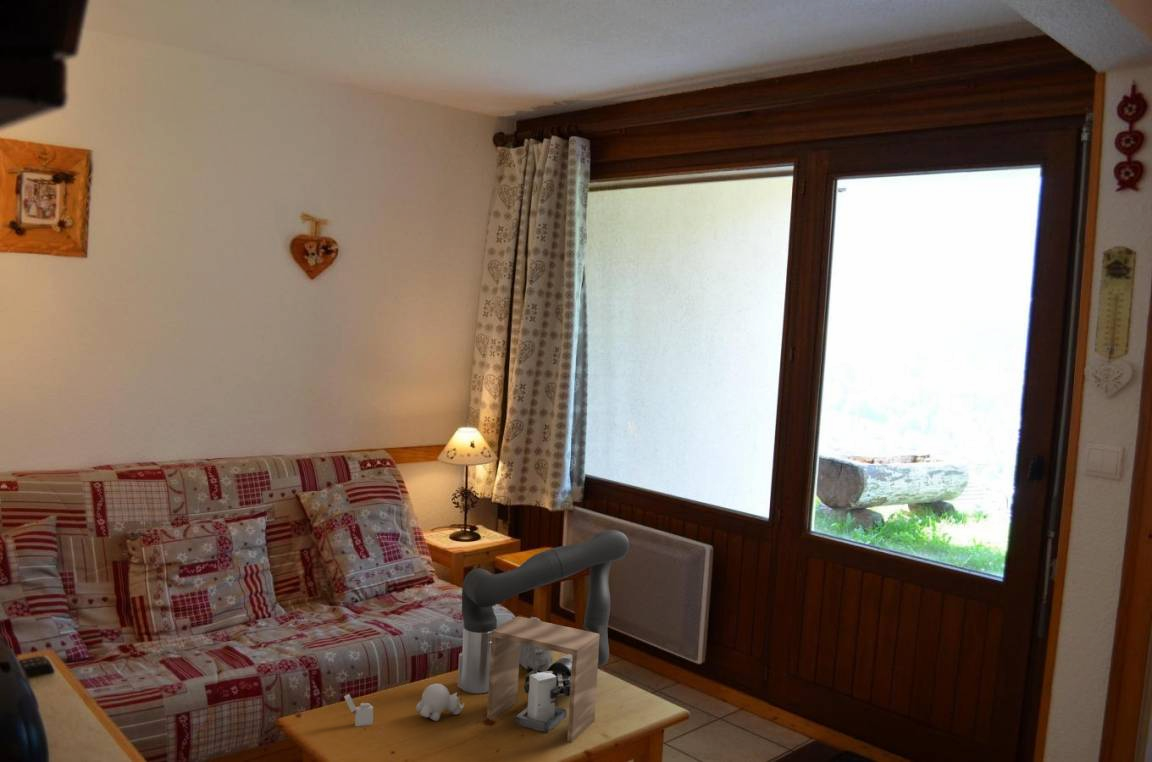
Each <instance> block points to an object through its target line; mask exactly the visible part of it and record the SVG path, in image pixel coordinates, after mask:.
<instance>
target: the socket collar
mask: <svg viewBox="0 0 1152 762" xmlns="http://www.w3.org/2000/svg"><path fill="white" fill-rule="evenodd" d="M527 712H528V706H527V707H526V708H525V709H523V710H521V712H519V713H517V715H515V718H514V719H515V720H514V723H515V725H517V724H518V726H520V725H521V726H520V727H525V728H529V729H531V728H532V730H535V731H539V730H540V731H539V732H542V731H543V733H546V732H547V734H548V733H549V732H551V729H552V728H553V729H554V728H555V727H557V726H558V723H559V722H560V721H561V722H562V721H563V720H564V719H566V718H567V709H566V708H562V707H559V706H558V707H557V706H555V711H554V716H553V717H552V718H551V719H549V720H548V721H547V722H543V721H539V720H535V719H532V718H528V717H527ZM565 717H566V718H565ZM561 722H560V723H561ZM560 723H559V724H560ZM553 729H552V730H553Z"/></svg>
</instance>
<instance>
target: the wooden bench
mask: <svg viewBox="0 0 1152 762" xmlns="http://www.w3.org/2000/svg"><path fill="white" fill-rule="evenodd" d="M529 618H530V617H523V616H518V615H517V616H516V617H513V618H512V619H510V620H509V621H506V622H505V623H503V624H501V625H499V626H498V627H497V628H496V629H494V630H492V634H491V653H490V671H489V690H488V692H487V694H488V695H487V712H486V714H487V715H486V720H487V719H489V720H488V721H492V720H493V718H494V717H495V718H496V717H498V716H499V715H500V714H502V713H503V712H505V711H506V710H507V709H508V707H509V708H510V707H512V706H513V705H514V704H515V703H517V701H518V689H519V673H520V672H519V671H520V664H519V656H520V643H522V644H526V645H531V646H535V647H539V648H544V649H548V650H553V652H557V653H563V654H566V655H567V654H570V655H572V670H571V687H570V696H569V706H568V721H567V722H568V725H567V742H568V743H571V744H572V743H573V742H574V741H575V740H576V739H577V738H579V736H580V735H582V734H583V733H584V732H585V731H586V730H587V729H588V728H589V727H590V726H592V724H593V723H594V722H595V718H596V717H595V716H596V700H597V699H596V698H597V686H598V683H597V682H598V671H599V670H598V668H599V667H598V655H599V638H600V634H598V633H593V632H591V631H588V630H584V629H580V628H575V627H569V626H564V625H561V624H555V623H550V622H546V621H542V620H540V621H538V620H533V619H529ZM512 704H513V705H512ZM505 709H506V710H505ZM501 712H502V713H501ZM497 715H498V716H497ZM495 718H494V719H495ZM491 719H492V720H491Z"/></svg>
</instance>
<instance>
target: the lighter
mask: <svg viewBox="0 0 1152 762" xmlns="http://www.w3.org/2000/svg"><path fill="white" fill-rule="evenodd" d="M343 697H344V699H345V701H346V704H347V706H348V708H349V709H350V711H351V713H353V712H354V711H355V712H354V713H355V715H354V718H355V719H354V725H355V727H364V726H371V725H373V722H374V720H373V719H374V718H373V717H374V707H373V705H371V704H370V703H368V702H361V703H360V704H359V705H360V706H356V705H355V703H354V700H353V698H352V697H351V695H350V693H348V694H346V695H344V696H343Z"/></svg>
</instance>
